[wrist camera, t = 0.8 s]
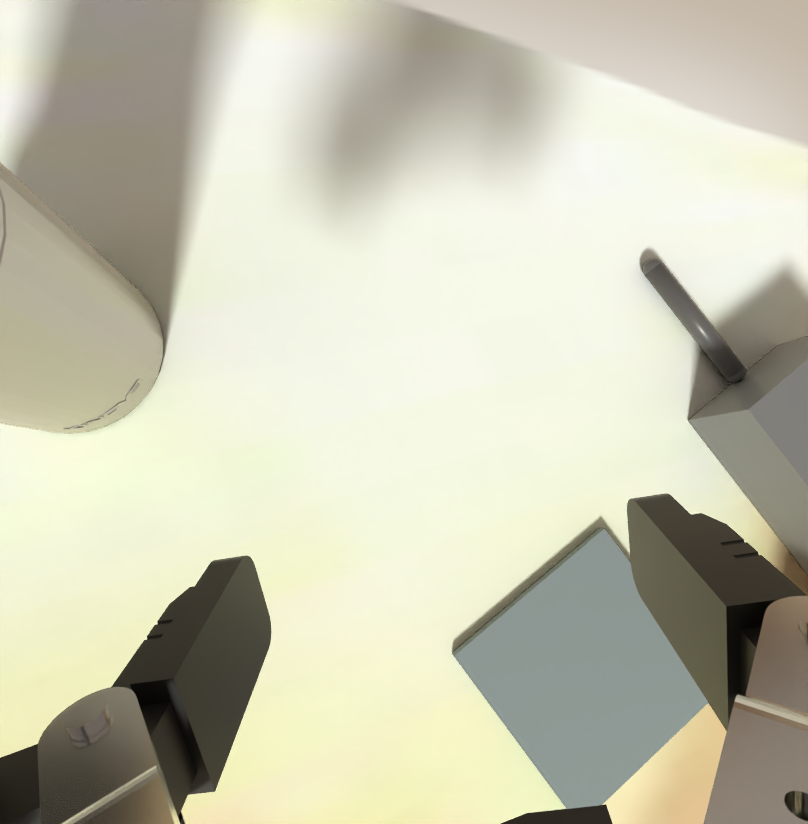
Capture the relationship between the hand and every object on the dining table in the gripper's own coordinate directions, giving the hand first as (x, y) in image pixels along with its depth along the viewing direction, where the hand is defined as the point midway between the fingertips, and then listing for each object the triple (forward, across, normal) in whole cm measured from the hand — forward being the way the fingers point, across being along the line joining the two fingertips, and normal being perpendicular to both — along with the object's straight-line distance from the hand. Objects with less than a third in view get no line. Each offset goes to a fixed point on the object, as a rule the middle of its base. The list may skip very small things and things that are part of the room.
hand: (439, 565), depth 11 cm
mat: (+15, -6, +17) cm, 24 cm away
